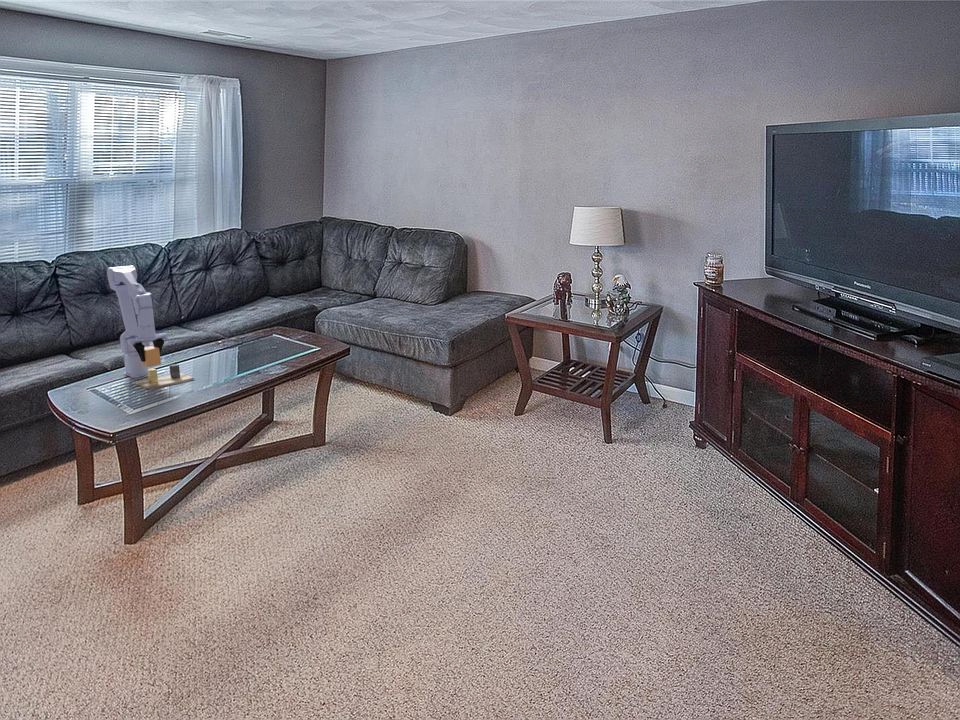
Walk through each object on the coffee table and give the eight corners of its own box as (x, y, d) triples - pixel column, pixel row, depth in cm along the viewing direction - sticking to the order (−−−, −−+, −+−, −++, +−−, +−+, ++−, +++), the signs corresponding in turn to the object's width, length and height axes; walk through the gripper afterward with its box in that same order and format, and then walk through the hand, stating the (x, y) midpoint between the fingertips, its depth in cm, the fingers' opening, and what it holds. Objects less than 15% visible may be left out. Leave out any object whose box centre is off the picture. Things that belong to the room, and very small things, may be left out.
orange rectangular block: (141, 364, 284) (139, 348, 283) (154, 362, 288) (152, 345, 286) (147, 367, 281) (145, 350, 279) (161, 364, 285) (159, 347, 283)
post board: (135, 383, 287) (133, 369, 286) (179, 373, 300) (177, 360, 299) (149, 390, 280) (147, 375, 278) (194, 379, 293) (192, 365, 291)
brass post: (148, 382, 286) (146, 370, 285) (155, 380, 288) (153, 368, 287) (151, 383, 285) (150, 371, 283) (158, 382, 287) (156, 369, 285)
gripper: (131, 330, 273) (136, 365, 276) (169, 323, 283) (173, 357, 287) (123, 327, 277) (128, 362, 281) (161, 321, 288) (165, 354, 291)
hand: (150, 359), depth 284 cm, fingers closed on orange rectangular block, 5 cm apart
